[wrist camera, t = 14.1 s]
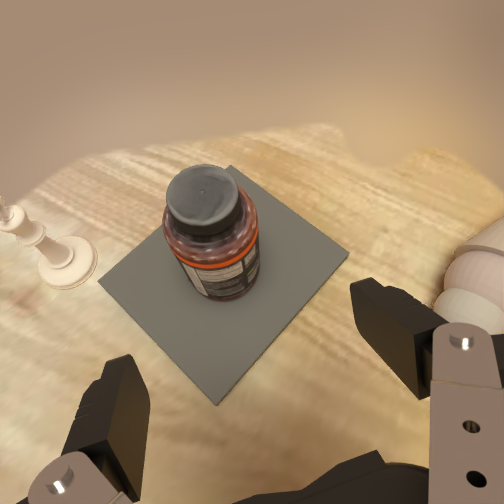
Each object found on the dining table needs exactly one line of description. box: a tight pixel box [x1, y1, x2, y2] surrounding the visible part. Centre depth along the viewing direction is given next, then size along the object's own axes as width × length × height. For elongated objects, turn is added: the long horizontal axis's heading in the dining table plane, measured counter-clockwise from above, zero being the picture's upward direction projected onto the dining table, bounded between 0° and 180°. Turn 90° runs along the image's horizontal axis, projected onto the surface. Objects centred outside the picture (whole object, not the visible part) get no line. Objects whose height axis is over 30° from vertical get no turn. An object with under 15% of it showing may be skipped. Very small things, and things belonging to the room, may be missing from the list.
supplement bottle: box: [162, 164, 260, 301], centre depth 24 cm, size 6×6×11 cm
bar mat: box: [98, 165, 349, 406], centre depth 30 cm, size 16×14×1 cm
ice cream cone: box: [433, 216, 504, 335], centre depth 26 cm, size 6×6×15 cm
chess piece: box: [0, 196, 97, 289], centre depth 26 cm, size 5×5×10 cm
